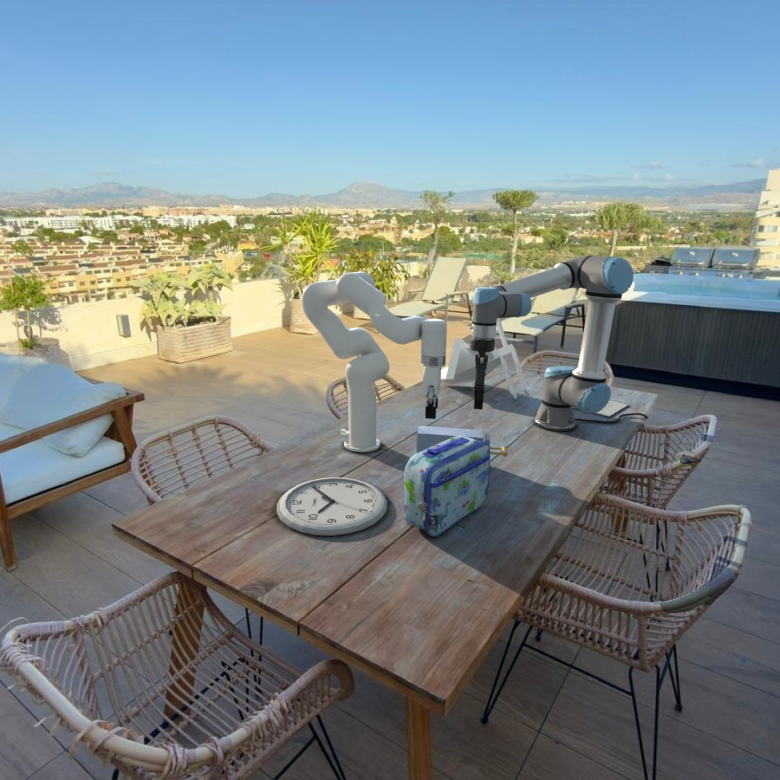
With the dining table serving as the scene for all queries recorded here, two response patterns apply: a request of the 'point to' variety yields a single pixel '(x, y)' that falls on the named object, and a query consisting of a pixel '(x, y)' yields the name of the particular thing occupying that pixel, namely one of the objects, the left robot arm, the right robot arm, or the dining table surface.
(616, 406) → the invitation card
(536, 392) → the dining table surface
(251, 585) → the dining table surface
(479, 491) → the lunch box
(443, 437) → the cabinet
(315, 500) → the wall clock
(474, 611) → the dining table surface
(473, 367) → the white plastic object
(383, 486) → the dining table surface
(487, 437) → the drawer
